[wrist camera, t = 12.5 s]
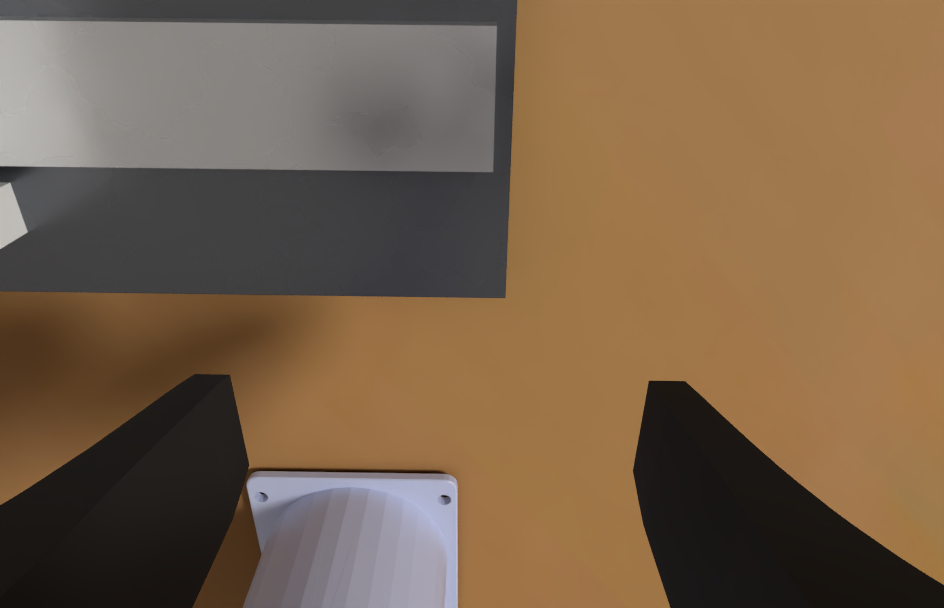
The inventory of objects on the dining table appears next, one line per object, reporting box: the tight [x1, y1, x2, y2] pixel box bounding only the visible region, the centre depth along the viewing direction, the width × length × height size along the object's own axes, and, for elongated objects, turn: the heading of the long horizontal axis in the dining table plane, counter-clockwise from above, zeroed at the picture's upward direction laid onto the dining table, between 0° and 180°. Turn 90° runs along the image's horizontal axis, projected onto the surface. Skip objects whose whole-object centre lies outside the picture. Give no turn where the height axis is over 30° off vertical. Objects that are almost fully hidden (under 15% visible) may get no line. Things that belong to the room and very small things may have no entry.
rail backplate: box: [0, 0, 517, 298], centre depth 14 cm, size 12×22×7 cm, turn 89°
